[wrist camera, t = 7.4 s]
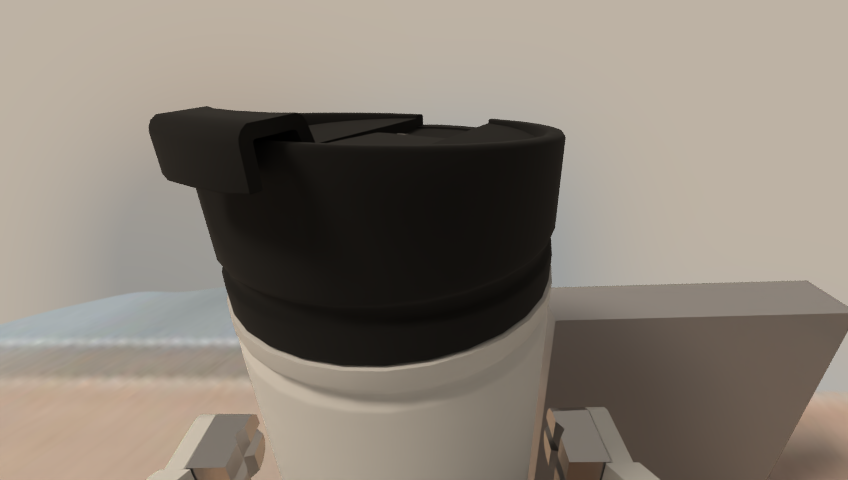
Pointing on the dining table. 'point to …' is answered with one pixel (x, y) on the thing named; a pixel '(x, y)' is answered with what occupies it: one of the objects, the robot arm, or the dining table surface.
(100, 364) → the dining table surface
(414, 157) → the travel mug
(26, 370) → the dining table surface
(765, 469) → the tile
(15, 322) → the dining table surface
